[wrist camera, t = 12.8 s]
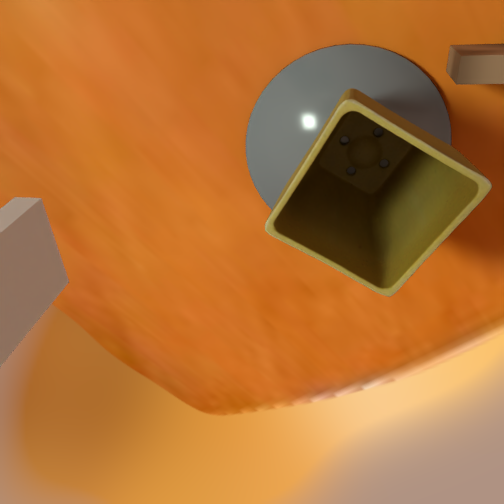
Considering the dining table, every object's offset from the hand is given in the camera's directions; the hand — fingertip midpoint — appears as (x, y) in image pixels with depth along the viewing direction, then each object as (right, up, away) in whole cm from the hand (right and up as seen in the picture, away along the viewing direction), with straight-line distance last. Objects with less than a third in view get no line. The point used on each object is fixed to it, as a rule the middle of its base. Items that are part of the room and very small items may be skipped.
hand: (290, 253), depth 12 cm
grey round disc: (+6, +7, +21) cm, 23 cm away
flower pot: (+7, +7, +21) cm, 23 cm away
